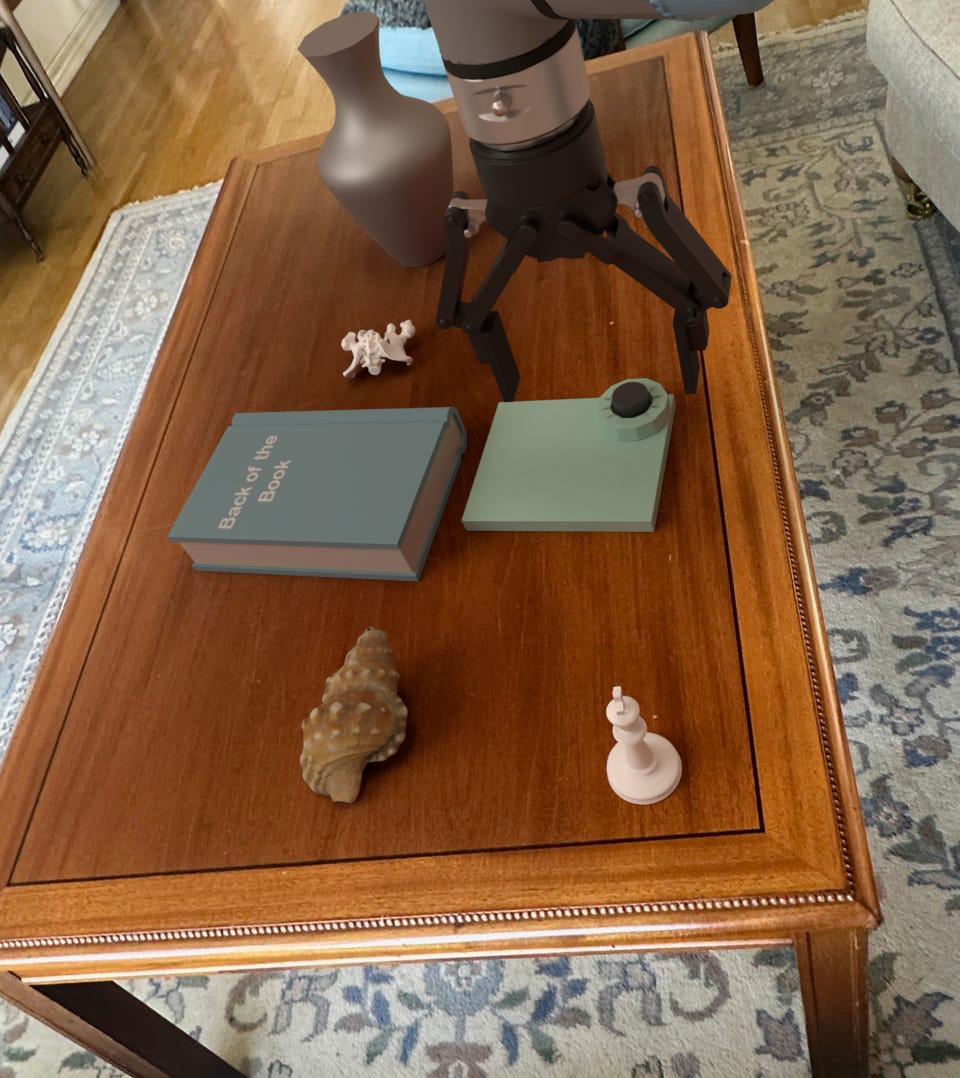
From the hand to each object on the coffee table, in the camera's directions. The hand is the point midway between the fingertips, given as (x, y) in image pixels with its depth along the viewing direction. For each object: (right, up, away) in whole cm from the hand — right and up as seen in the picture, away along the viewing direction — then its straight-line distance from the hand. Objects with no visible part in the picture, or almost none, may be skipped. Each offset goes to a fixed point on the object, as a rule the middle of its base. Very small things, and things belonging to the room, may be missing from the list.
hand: (599, 385), depth 72 cm
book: (-22, -8, +18) cm, 29 cm away
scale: (-1, -5, +12) cm, 13 cm away
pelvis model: (-19, +7, +29) cm, 35 cm away
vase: (-15, +22, +40) cm, 48 cm away
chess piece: (+2, -27, -7) cm, 28 cm away
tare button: (+4, 0, +10) cm, 11 cm away
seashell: (-17, -26, +1) cm, 31 cm away
